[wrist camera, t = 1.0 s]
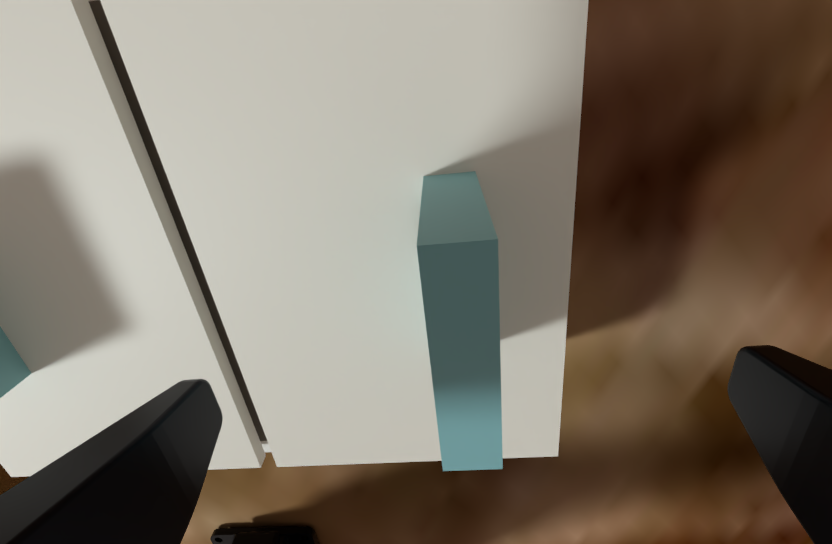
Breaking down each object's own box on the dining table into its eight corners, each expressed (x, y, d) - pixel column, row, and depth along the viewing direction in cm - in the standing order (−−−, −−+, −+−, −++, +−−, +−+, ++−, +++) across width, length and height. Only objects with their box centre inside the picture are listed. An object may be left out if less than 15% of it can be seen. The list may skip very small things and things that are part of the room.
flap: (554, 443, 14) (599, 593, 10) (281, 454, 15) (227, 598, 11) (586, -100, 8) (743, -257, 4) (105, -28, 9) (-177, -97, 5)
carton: (526, 351, 19) (554, 442, 15) (118, 375, 21) (31, 463, 16) (533, -55, 12) (588, -116, 8) (-73, 30, 14) (-310, 20, 10)
